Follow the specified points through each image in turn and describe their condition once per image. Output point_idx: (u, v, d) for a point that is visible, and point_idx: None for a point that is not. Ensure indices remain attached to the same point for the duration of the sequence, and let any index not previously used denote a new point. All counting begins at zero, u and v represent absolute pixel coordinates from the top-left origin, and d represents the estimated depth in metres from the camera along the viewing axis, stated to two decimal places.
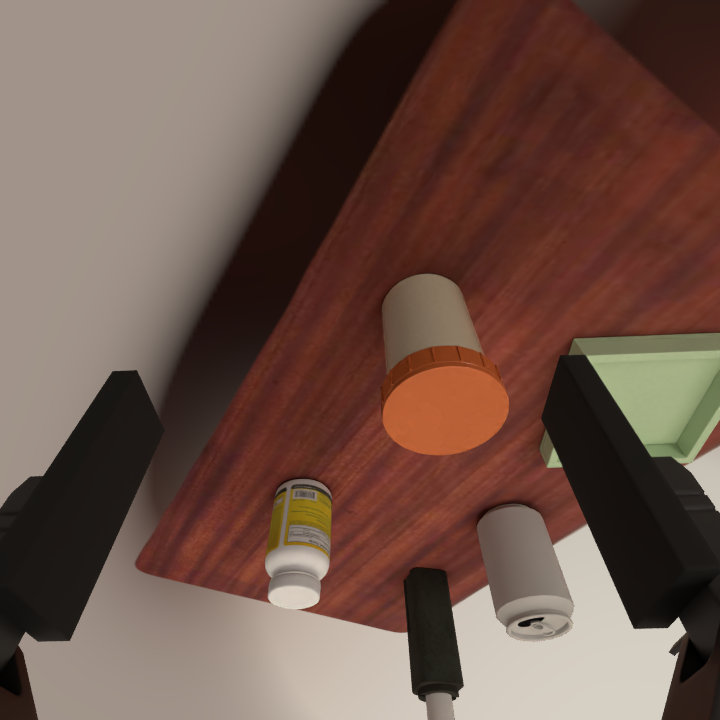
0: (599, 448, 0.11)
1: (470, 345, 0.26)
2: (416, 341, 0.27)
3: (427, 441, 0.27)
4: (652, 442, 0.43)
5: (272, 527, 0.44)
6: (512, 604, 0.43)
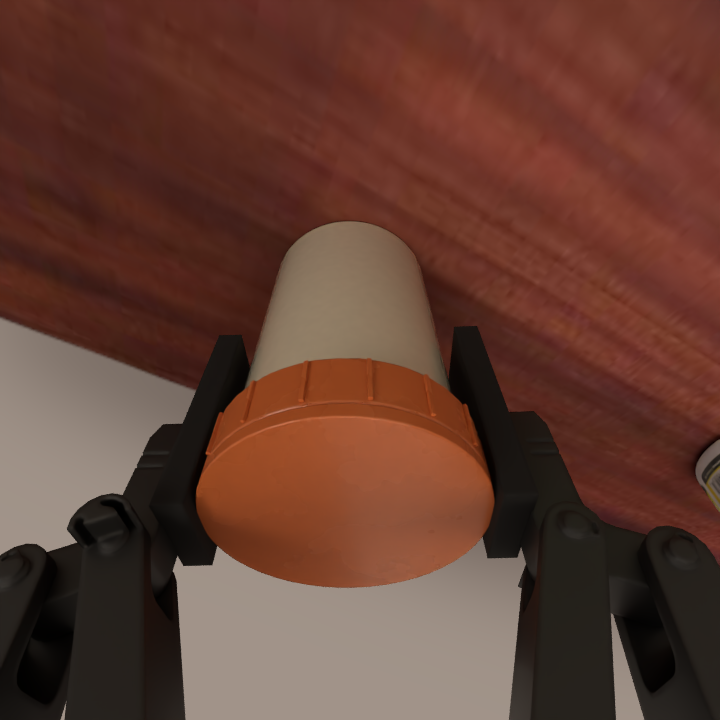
0: (471, 404, 0.13)
1: None
2: None
3: (435, 537, 0.11)
4: None
5: None
6: None
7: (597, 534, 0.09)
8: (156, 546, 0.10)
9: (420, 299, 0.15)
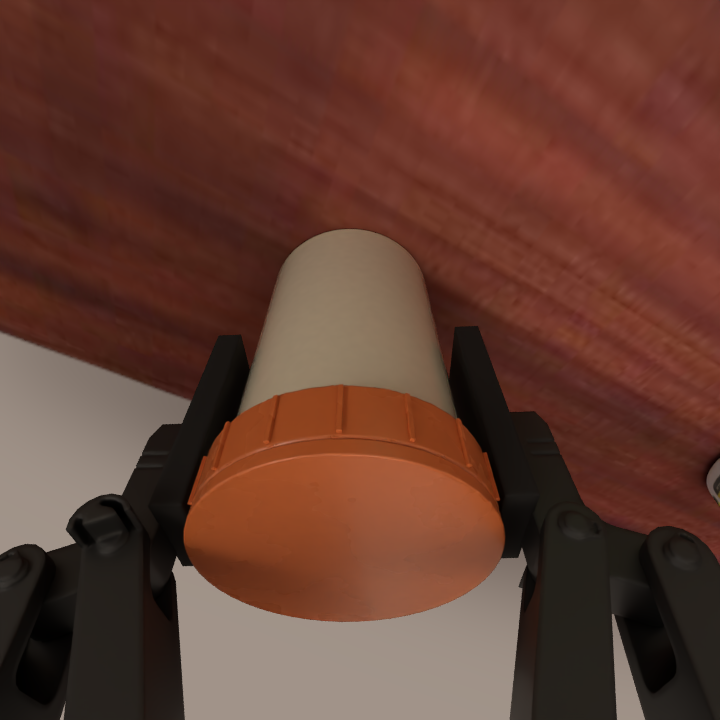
0: (471, 404, 0.13)
1: (240, 409, 0.12)
2: None
3: (364, 495, 0.09)
4: None
5: None
6: None
7: (598, 535, 0.09)
8: (155, 546, 0.10)
9: (423, 311, 0.14)
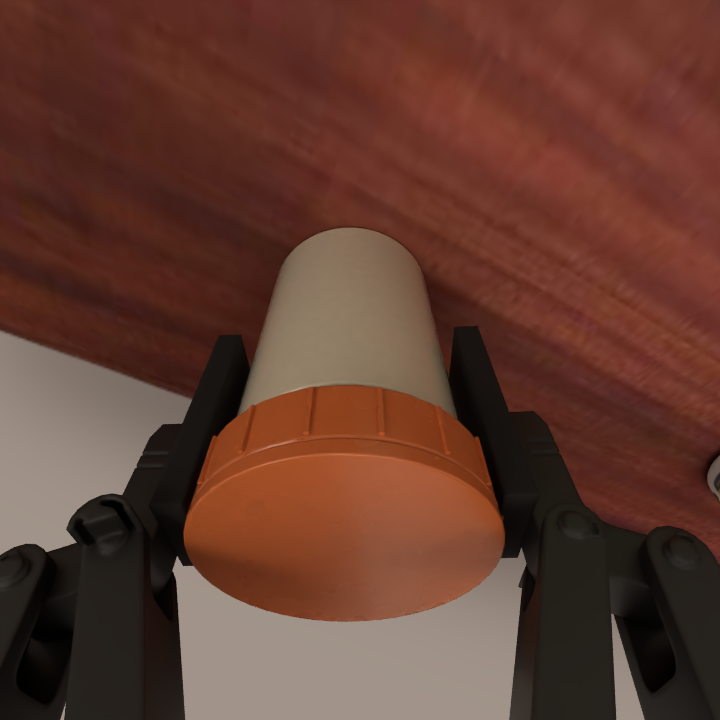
0: (471, 404, 0.13)
1: (241, 406, 0.12)
2: None
3: (239, 557, 0.10)
4: None
5: None
6: None
7: (597, 534, 0.09)
8: (156, 546, 0.10)
9: (422, 308, 0.15)
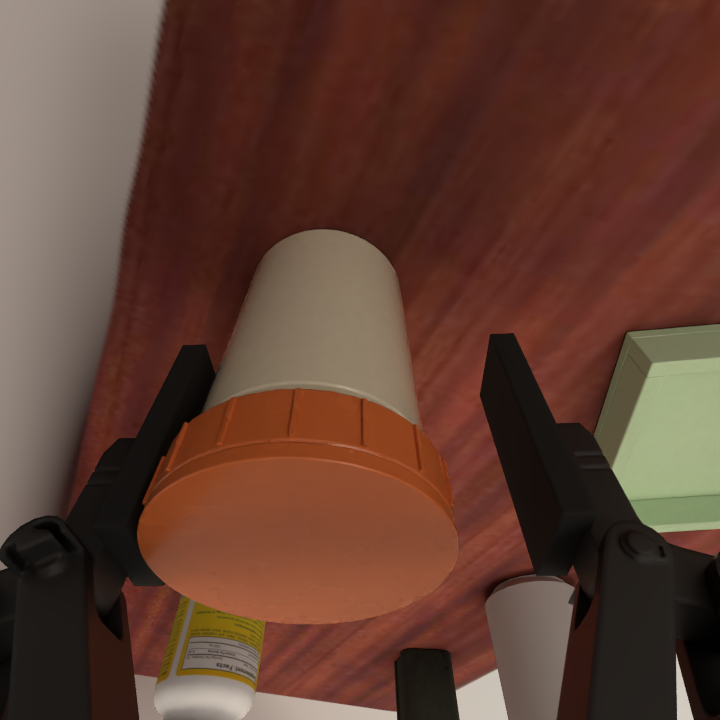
0: (514, 416, 0.12)
1: (362, 369, 0.11)
2: (239, 365, 0.12)
3: (201, 570, 0.11)
4: None
5: (170, 636, 0.29)
6: None
7: (664, 558, 0.09)
8: (99, 566, 0.10)
9: None
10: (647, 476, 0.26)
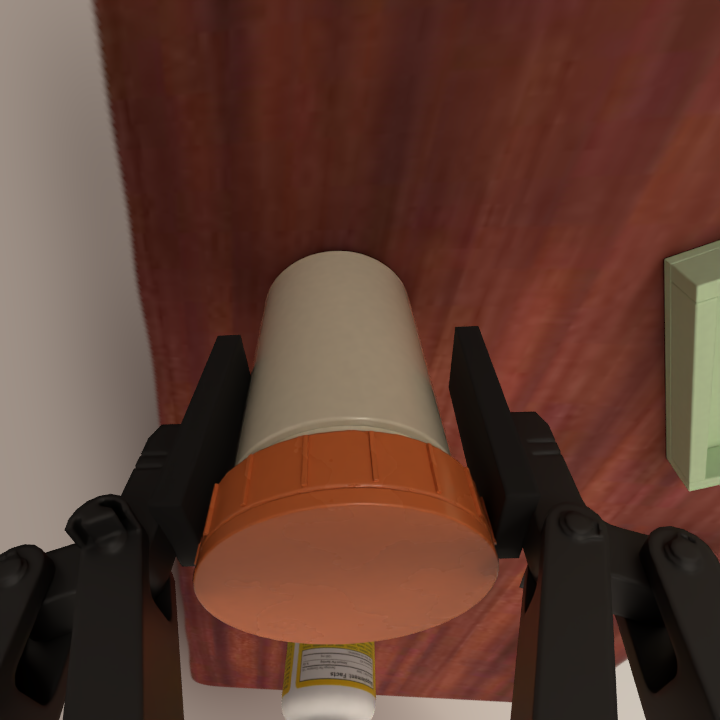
0: (472, 405, 0.13)
1: (354, 392, 0.11)
2: (249, 421, 0.12)
3: (353, 628, 0.12)
4: None
5: (287, 652, 0.31)
6: None
7: (599, 535, 0.09)
8: (154, 547, 0.10)
9: None
10: None
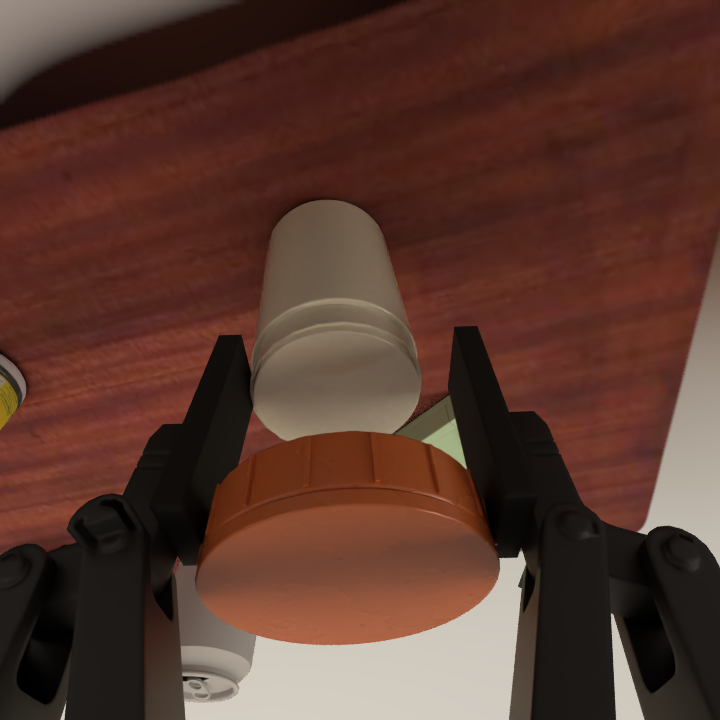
0: (471, 404, 0.13)
1: (405, 317, 0.17)
2: (331, 280, 0.16)
3: (354, 629, 0.12)
4: None
5: None
6: (183, 650, 0.31)
7: (597, 534, 0.09)
8: (156, 546, 0.10)
9: None
10: None
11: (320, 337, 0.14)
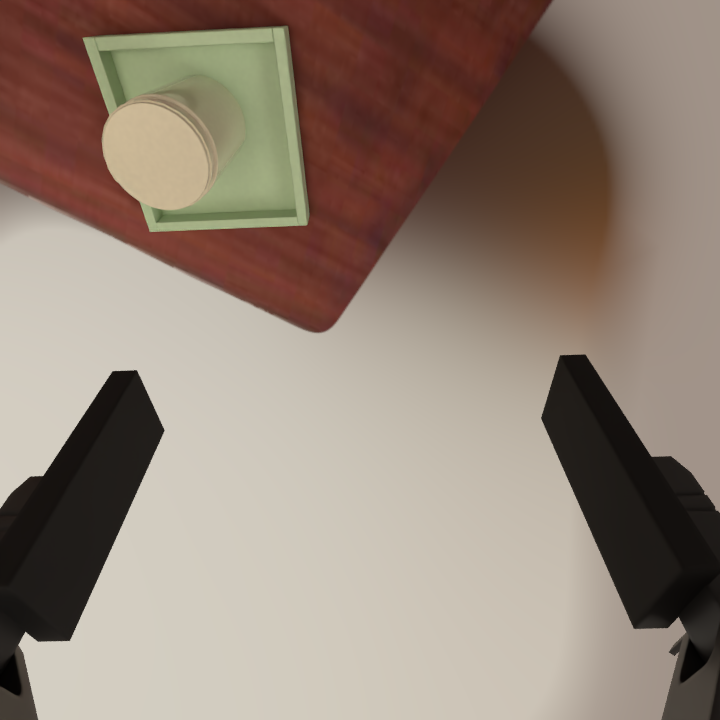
0: (599, 448, 0.11)
1: (220, 164, 0.29)
2: (201, 110, 0.27)
3: None
4: None
5: None
6: None
7: None
8: None
9: None
10: None
11: (176, 118, 0.25)
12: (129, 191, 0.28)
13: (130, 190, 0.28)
